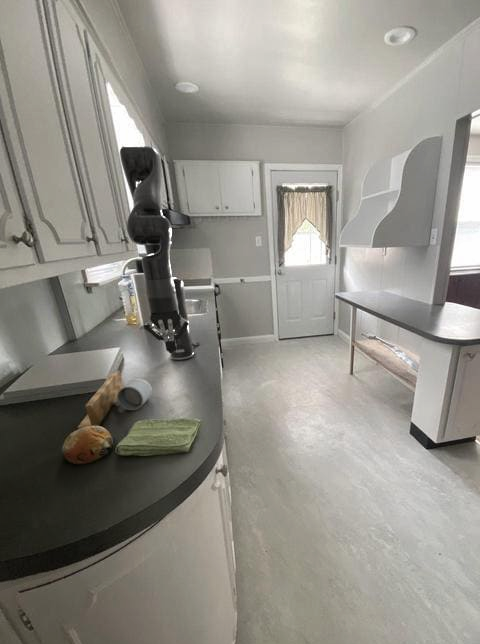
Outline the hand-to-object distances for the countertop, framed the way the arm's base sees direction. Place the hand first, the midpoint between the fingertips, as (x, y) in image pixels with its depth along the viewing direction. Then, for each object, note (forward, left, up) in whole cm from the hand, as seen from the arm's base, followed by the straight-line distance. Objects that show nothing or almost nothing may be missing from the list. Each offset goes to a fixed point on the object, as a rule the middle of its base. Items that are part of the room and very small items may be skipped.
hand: (172, 352), depth 92 cm
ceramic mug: (+2, -13, -16) cm, 21 cm away
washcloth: (+23, -2, -16) cm, 28 cm away
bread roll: (+24, -18, -16) cm, 34 cm away
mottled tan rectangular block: (+1, -22, -15) cm, 27 cm away
